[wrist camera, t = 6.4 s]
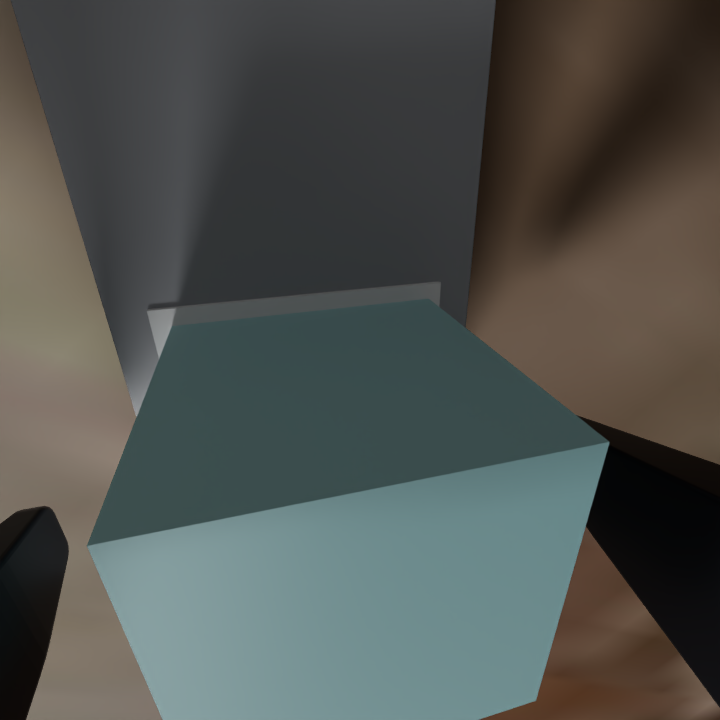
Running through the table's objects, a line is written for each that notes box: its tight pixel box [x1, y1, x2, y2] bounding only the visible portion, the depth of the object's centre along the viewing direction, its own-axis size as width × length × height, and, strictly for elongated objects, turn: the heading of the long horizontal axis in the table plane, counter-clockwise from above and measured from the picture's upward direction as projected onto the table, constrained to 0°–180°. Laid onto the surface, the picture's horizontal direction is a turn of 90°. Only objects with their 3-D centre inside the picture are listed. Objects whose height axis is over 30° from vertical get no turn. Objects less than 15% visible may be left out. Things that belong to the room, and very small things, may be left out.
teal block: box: [87, 299, 610, 720], centre depth 7 cm, size 5×5×5 cm
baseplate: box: [11, 0, 496, 417], centre depth 8 cm, size 7×17×2 cm, turn 1°
